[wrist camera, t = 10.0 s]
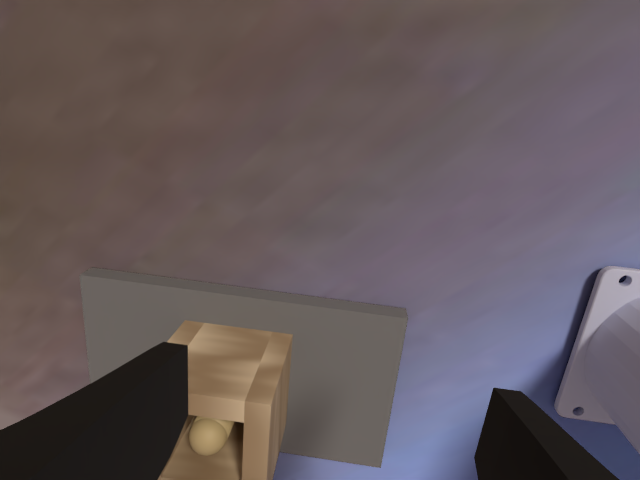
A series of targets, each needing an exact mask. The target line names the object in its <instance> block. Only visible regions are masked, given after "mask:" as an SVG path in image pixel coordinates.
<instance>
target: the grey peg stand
mask: <svg viewBox="0 0 640 480" xmlns="http://www.w3.org/2000/svg"><path fill="white" fill-rule="evenodd" d="M80 285H81V296H82V306H83V316H84V326H85V337H86V347H87V357H88V367H89V378H90V384H91V383H93V382H94V381H96V380H98V379H100V378H101V377H103V376H105V375H106V374H108V373H110V372H112V371H113V370H115V369H117V368H118V367H120V366H122V365H124V364H125V363H127V362H129V361H130V360H132V359H134V358H135V357H137V356H139V355H140V354H142V353H144V352H146V351H147V350H149V349H151V348H153V347H154V346H156V345H158V344H160V343H162V342H167V341H168V340H169V339H170V338H171V336H172V335H173V334H174V333H175V332H176V330H177V329H178V328H179V327H180V326H181V324H182V323H183V322H184V321H185V320H187V321H194V322H202V323H210V324H217V325H225V326H232V327H240V328H248V329H255V330H263V331H271V332H278V333H286V334H293V339H292V352H291V365H290V378H289V391H288V404H287V417H286V426H285V430H284V434H283V438H282V442H281V446H280V451H279V452H283V453H290V454H296V455H302V456H309V457H315V458H322V459H328V460H334V461H341V462H347V463H353V464H360V465H366V466H372V467H379V468H381V463H382V457H383V452H384V446H385V441H386V436H387V430H388V425H389V419H390V414H391V408H392V403H393V397H394V392H395V386H396V381H397V376H398V370H399V365H400V359H401V354H402V348H403V343H404V337H405V332H406V327H407V321H408V316H407V312H406V309H405V308H397V307H390V306H382V305H375V304H367V303H359V302H352V301H344V300H337V299H329V298H321V297H314V296H306V295H299V294H291V293H283V292H276V291H268V290H261V289H253V288H245V287H238V286H230V285H223V284H215V283H207V282H200V281H192V280H185V279H177V278H169V277H162V276H154V275H147V274H139V273H131V272H124V271H116V270H109V269H101V268H93V267H92V268H90V269H89V270H87V271H85V272H84V273H82V274H80ZM234 422H235V421H229V420H222V419H215V418H208V417H201V416H197V417H196V419H195V421H194V423H193V424H192V426H191V429H190V432H189V442H190V445H191V447H192V449H193V450H194V451H195V452H196V453H198V454H200V455H204V456H209V455H213V454H215V453H217V452H219V451H220V450H221V449H222V448H223V447H224V445H225V443H226V441H227V439H228V437H229V434H230V432H231V429H232V427H233V424H234Z"/></svg>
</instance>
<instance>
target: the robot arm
mask: <svg viewBox="0 0 640 480" xmlns="http://www.w3.org/2000/svg"><path fill="white" fill-rule="evenodd" d="M623 276H626V279H625V281H623V282H622V283H619V279H620V278H621V277H623ZM576 407H579V409H577V410H574V408H576ZM554 408H555V410H556V411H557V413H558V414H559V415H560V416H562V417H566V418H573V419H579V420H586V421H593V422H600V423H607V424H614V425H617V427H618V428H619V429H620V430H621V432H622V433H623V434H624V435H625V437H626V438H627V439H628V440H629V442H630V443H631V444H632V446H633V447H634V448H635V449H636V451H637V452H638V453H639V454H640V269H633V268H625V267H617V266H607V267H605V268H603V269H602V270H600V271H599V273H598V275H597V278H596V281H595V284H594V287H593V290H592V293H591V296H590V299H589V302H588V305H587V308H586V311H585V314H584V317H583V319H582V322H581V325H580V328H579V331H578V334H577V337H576V340H575V343H574V346H573V349H572V352H571V355H570V358H569V361H568V364H567V367H566V370H565V373H564V376H563V379H562V382H561V385H560V388H559V391H558V394H557V397H556V400H555V403H554ZM187 417H188V345H183V344H176V343H169V342H162V343H160V344H158V345H156V346H154V347H153V348H151V349H149V350H147V351H146V352H144V353H142V354H140V355H139V356H137V357H135V358H134V359H132V360H130V361H129V362H127V363H125V364H124V365H122V366H120V367H118V368H117V369H115V370H113V371H112V372H110V373H108V374H106V375H105V376H103V377H101V378H100V379H98V380H96V381H94V382H93V383H91V384H89V385H87V386H86V387H84V388H82V389H80V390H78V391H76V392H75V393H73V394H71V395H69V396H67V397H65V398H63V399H61V400H60V401H58V402H56V403H54V404H52V405H50V406H48V407H46V408H45V409H43V410H41V411H39V412H37V413H35V414H33V415H31V416H29V417H27V418H25V419H23V420H21V421H19V422H17V423H15V424H13V425H11V426H8V427H6V428H4V429H2V430H0V480H158V478H159V476H160V474H161V473H162V471H163V469H164V467H165V466H166V464H167V462H168V460H169V458H170V457H171V455H172V452H173V450H174V448H175V445H176V443H177V441H178V439H179V436H180V434H181V431H182V429H183V427H184V424H185V422H186V419H187ZM474 458H475V464H476V469H477V475H478V480H619V479H618V478H617V477H616V476H614V475H613V474H612V473H611V472H610V471H609V470H607V469H606V468H605V467H604V466H603V465H602V464H601V463H600V462H598V461H597V460H596V459H595V458H594V457H593V456H592V455H591V454H590V453H588V452H587V451H586V450H585V449H584V448H583V447H582V446H581V445H580V444H579V443H577V442H576V441H575V440H574V439H573V438H572V437H571V436H570V435H569V434H568V433H567V432H566V431H564V430H563V429H562V428H561V427H560V426H559V425H558V424H557V423H556V422H555V421H554V420H553V419H551V418H550V417H549V416H548V415H547V414H546V413H545V412H544V411H543V410H542V409H541V408H539V407H538V406H537V405H536V404H535V403H534V402H533V401H532V400H530V399H529V398H528V397H527V396H526V395H524V394H523V393H522V392H521V391H514V390H506V389H499V388H493V392H492V395H491V399H490V402H489V406H488V410H487V413H486V417H485V421H484V424H483V428H482V432H481V435H480V439H479V443H478V446H477V450H476V453H475V457H474Z"/></svg>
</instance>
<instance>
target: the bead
mask: <svg viewBox="0 0 640 480" xmlns="http://www.w3.org/2000/svg"><path fill="white" fill-rule="evenodd" d="M292 339H293V334H286V333H278V332H271V331H263V330H255V329H248V328H240V327H232V326H225V325H217V324H210V323H202V322H194V321H187V320H185V321H184V322H183V323H182V324H181V326H180V327H179V328H178V329H177V330H176V332H175V333H174V334H173V335H172V336H171V338H170V339H169V340H168V341H167V342H169V343H176V344H183V345H188V417H187V419H186V422H185V424H184V427H183V429H182V431H181V434H180V436H179V439H178V441H177V443H176V445H175V448H174V450H173V452H172V455H171V457H170V458H169V460H168V462H167V464H166V466H165V467H164V469H163V471H162V473H161V474H160V476H159V478H158V480H272V479H273V475H274V471H275V467H276V463H277V459H278V455H279V451H280V446H281V442H282V438H283V434H284V430H285V426H286V417H287V404H288V391H289V378H290V365H291V352H292ZM197 416H201V417H208V418H215V419H222V420H229V421H235V422H234V424H233V427H232V429H231V432H230V434H229V437H228V439H227V441H226V443H225V445H224V447H223V448H222V449H221V450H220V451H219V452H217V453H215V454H213V455H209V456H204V455H200V454H198V453H196V452H195V451H194V450H193V449H192V447H191V445H190V442H189V432H190V429H191V426H192V424H193V423H194V421H195V419H196V417H197Z"/></svg>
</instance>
